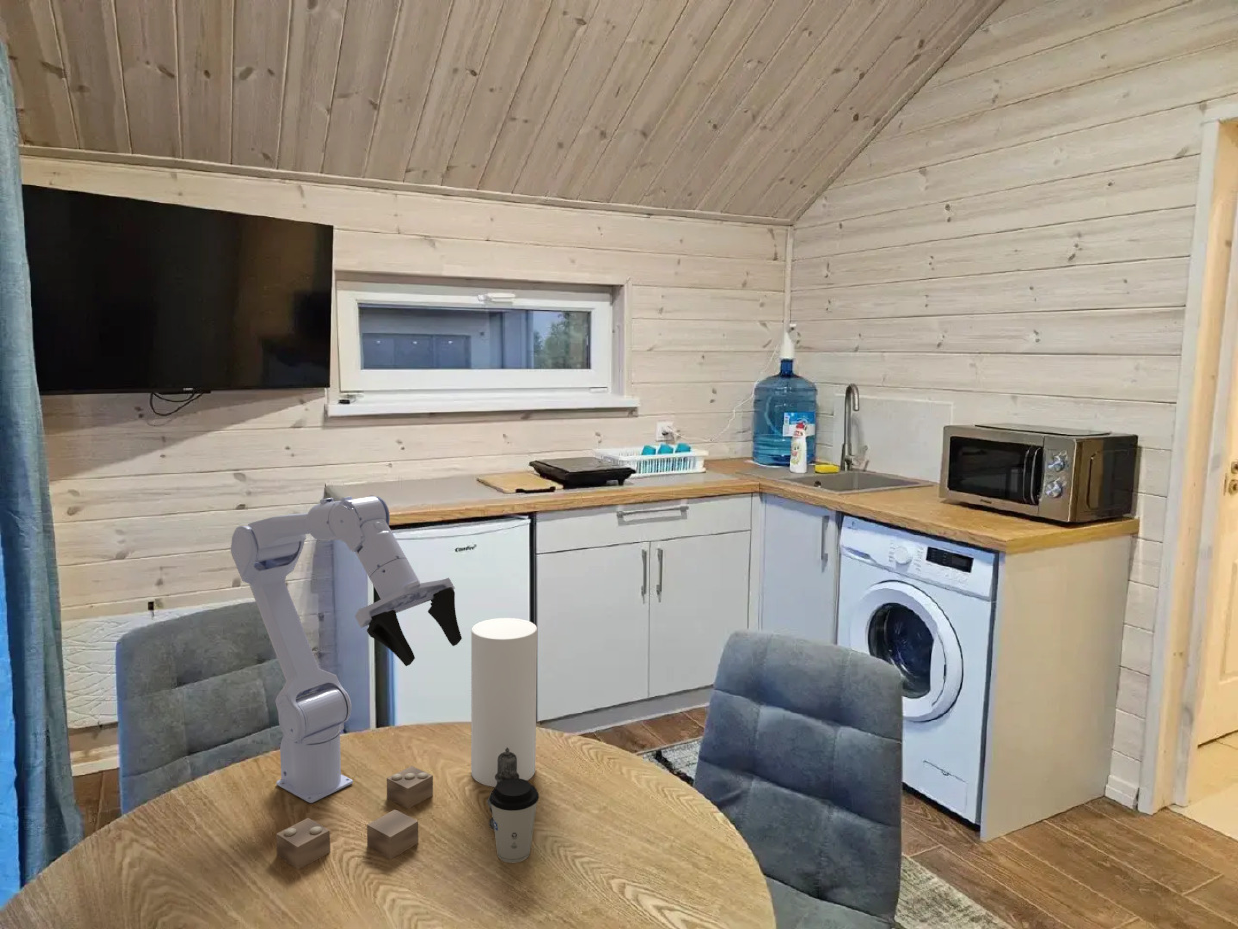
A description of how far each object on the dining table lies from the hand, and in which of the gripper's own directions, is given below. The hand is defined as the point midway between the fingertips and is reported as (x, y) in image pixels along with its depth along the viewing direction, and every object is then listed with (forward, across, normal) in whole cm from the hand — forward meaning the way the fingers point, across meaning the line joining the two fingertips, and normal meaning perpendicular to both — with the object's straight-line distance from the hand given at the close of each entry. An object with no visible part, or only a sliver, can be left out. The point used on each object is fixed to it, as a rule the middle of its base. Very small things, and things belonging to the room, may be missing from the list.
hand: (434, 652), depth 114 cm
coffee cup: (+28, +4, +15) cm, 32 cm away
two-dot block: (+12, -17, +28) cm, 35 cm away
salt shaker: (+23, +8, +20) cm, 32 cm away
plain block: (+17, -7, +24) cm, 30 cm away
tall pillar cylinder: (+16, +18, +30) cm, 38 cm away
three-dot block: (+12, +2, +31) cm, 34 cm away
